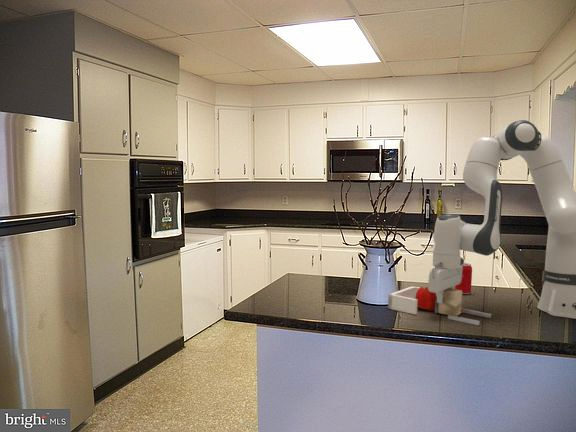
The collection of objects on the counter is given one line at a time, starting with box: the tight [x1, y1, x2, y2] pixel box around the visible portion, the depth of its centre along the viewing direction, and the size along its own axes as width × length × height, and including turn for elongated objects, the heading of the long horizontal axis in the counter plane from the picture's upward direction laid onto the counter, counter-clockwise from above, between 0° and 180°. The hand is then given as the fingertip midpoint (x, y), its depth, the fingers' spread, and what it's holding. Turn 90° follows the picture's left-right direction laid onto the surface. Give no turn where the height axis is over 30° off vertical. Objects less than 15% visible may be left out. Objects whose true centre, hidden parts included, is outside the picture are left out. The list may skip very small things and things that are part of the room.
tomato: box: [415, 286, 436, 312], centre depth 169 cm, size 9×9×8 cm
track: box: [447, 307, 492, 326], centre depth 160 cm, size 10×12×1 cm
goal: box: [387, 286, 421, 315], centre depth 173 cm, size 10×18×5 cm, turn 139°
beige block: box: [434, 288, 463, 316], centre depth 164 cm, size 7×7×8 cm
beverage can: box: [454, 262, 473, 295], centre depth 194 cm, size 6×6×12 cm
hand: (444, 300), depth 165 cm, fingers closed on beige block, 5 cm apart
